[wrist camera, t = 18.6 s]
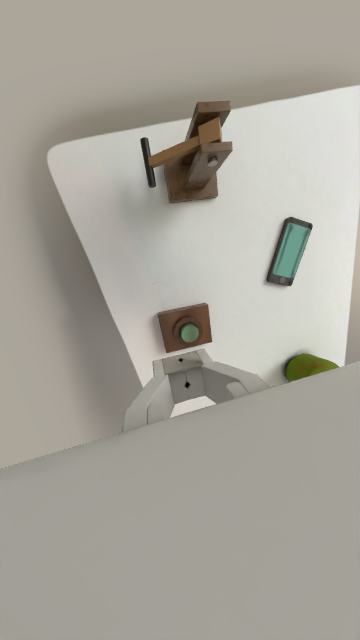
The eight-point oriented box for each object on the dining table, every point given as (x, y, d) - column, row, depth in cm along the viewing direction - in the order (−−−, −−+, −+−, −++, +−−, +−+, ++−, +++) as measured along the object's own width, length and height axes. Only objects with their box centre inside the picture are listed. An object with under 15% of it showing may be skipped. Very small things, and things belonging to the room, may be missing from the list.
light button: (181, 340, 40) (182, 344, 38) (178, 325, 39) (180, 327, 37) (197, 337, 40) (199, 340, 39) (195, 321, 39) (197, 323, 38)
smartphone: (269, 281, 43) (290, 216, 39) (265, 281, 44) (285, 217, 40) (292, 286, 44) (315, 224, 40) (288, 286, 46) (310, 225, 42)
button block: (165, 349, 44) (167, 356, 40) (157, 312, 40) (159, 317, 37) (209, 338, 45) (214, 344, 42) (204, 302, 42) (210, 306, 38)
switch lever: (152, 189, 29) (145, 184, 27) (144, 145, 27) (136, 137, 25) (223, 164, 25) (221, 156, 23) (220, 110, 23) (217, 96, 21)
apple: (311, 375, 58) (349, 400, 47) (279, 387, 56) (311, 414, 45) (313, 343, 53) (354, 362, 43) (278, 354, 52) (313, 377, 41)
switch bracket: (169, 203, 34) (183, 168, 22) (162, 154, 32) (172, 85, 20) (215, 197, 36) (251, 162, 24) (212, 150, 33) (250, 83, 21)
